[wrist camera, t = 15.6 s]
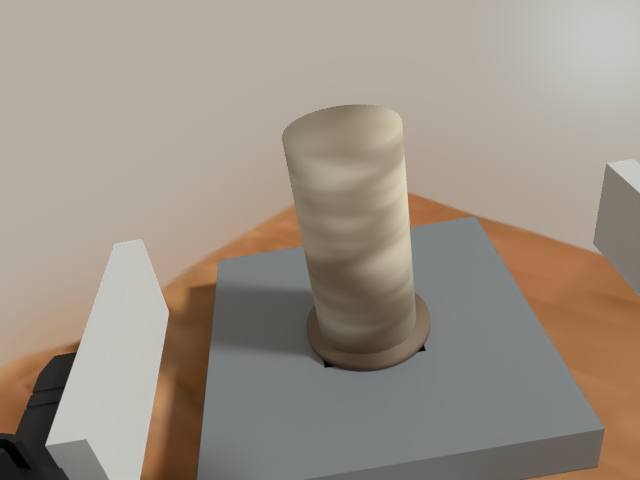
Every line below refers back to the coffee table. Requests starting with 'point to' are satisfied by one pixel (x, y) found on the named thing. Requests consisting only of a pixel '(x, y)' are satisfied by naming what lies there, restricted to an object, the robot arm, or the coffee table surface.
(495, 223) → the coffee table surface
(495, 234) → the coffee table surface
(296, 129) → the ash leg
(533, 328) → the leg board
